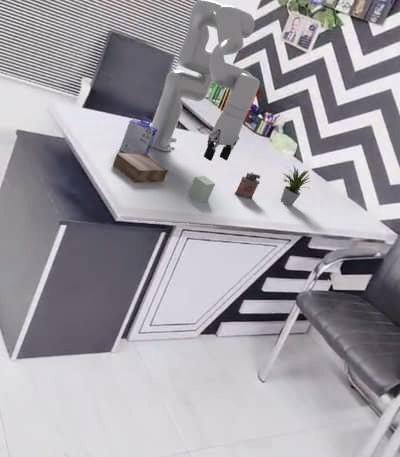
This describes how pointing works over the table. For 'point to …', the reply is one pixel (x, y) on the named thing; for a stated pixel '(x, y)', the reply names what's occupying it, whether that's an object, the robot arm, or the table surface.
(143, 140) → the ink cartridge box
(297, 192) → the house plant
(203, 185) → the sage box
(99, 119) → the table surface
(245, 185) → the lighter
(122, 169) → the walnut block
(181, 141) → the table surface
